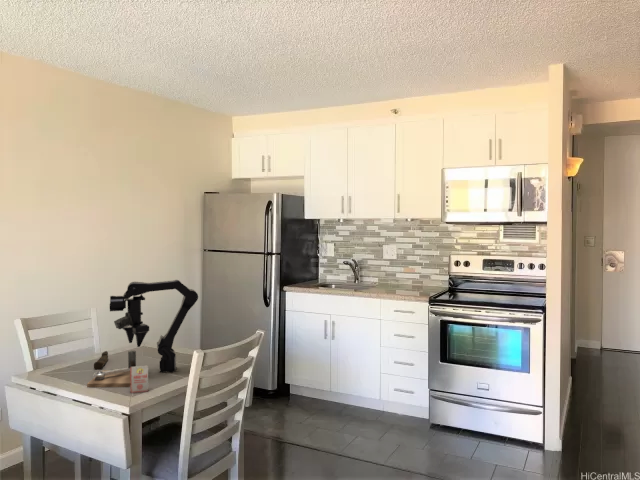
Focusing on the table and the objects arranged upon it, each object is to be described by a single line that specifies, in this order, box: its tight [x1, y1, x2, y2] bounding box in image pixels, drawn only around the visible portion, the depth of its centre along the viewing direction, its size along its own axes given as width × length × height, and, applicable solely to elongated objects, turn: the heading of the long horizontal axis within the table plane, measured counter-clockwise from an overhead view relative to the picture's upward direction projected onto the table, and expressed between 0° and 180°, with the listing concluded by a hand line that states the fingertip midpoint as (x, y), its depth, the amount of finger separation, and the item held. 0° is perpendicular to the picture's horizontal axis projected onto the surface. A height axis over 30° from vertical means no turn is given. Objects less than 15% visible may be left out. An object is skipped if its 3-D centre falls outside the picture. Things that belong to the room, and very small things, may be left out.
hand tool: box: [93, 350, 109, 371], centre depth 255 cm, size 19×4×5 cm, turn 8°
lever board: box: [86, 369, 131, 388], centre depth 231 cm, size 20×19×3 cm
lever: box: [92, 350, 137, 378], centre depth 231 cm, size 18×4×8 cm, turn 131°
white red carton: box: [129, 365, 149, 394], centre depth 217 cm, size 4×7×10 cm, turn 108°
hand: (134, 344), depth 240 cm, fingers open, 9 cm apart
